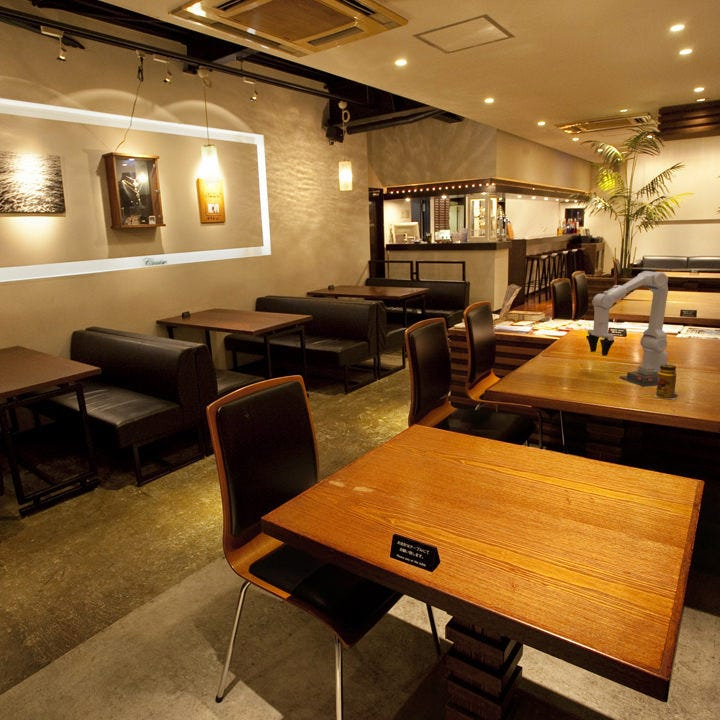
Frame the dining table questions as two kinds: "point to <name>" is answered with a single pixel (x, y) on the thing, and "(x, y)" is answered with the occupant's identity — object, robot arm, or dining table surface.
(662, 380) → the condiment
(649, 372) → the column
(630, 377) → the housing
